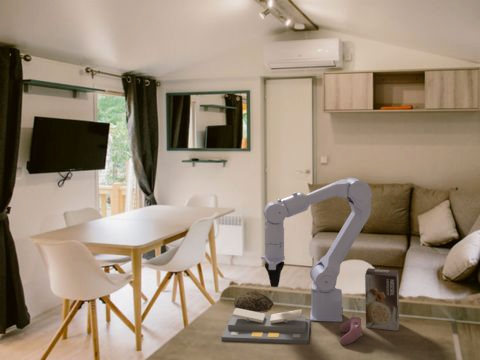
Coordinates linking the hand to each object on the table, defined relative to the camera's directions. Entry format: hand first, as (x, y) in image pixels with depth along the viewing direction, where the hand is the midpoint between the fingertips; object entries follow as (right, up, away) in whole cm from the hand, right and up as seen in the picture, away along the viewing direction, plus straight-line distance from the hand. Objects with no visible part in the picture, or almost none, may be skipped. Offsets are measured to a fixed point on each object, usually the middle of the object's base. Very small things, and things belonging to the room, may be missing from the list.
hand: (274, 286), depth 158 cm
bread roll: (-6, -10, +14) cm, 18 cm away
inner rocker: (+3, -8, -7) cm, 11 cm away
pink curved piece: (+20, -12, -14) cm, 27 cm away
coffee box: (+31, -10, -6) cm, 33 cm away
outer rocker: (-8, -8, -5) cm, 12 cm away
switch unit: (-3, -11, -7) cm, 14 cm away
